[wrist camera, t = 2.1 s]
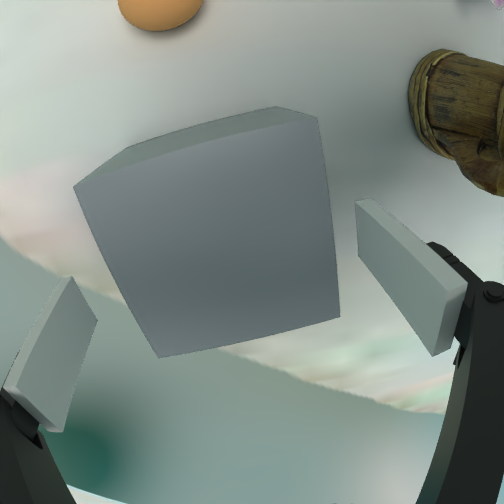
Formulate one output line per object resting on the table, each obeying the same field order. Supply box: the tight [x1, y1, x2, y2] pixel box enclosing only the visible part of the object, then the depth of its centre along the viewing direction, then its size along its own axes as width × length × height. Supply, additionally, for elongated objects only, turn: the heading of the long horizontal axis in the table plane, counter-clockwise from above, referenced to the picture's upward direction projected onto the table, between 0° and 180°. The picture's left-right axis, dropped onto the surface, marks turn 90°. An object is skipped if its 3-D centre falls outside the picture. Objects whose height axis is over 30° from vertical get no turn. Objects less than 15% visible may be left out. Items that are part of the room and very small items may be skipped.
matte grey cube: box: [73, 107, 340, 358], centre depth 18 cm, size 10×10×9 cm
